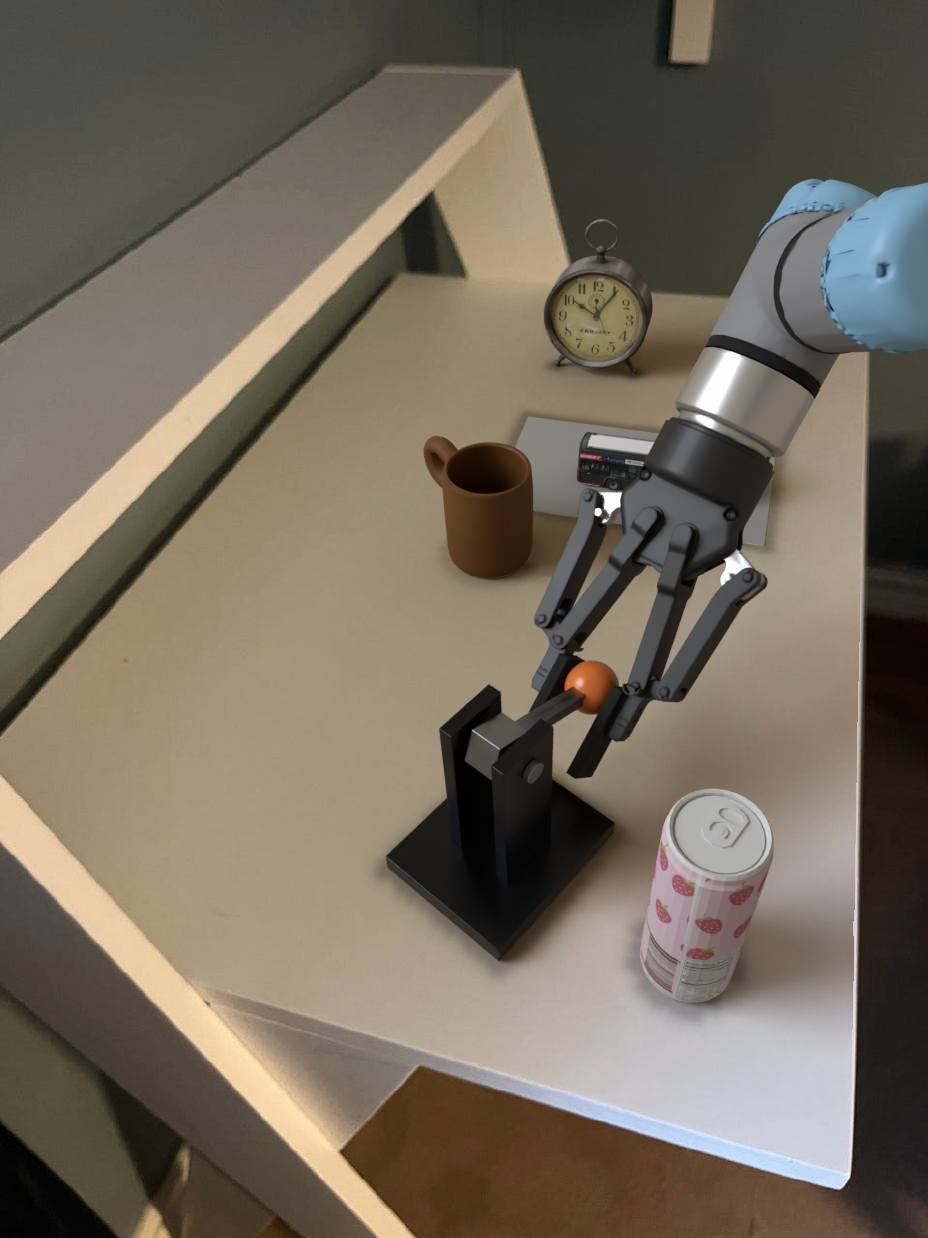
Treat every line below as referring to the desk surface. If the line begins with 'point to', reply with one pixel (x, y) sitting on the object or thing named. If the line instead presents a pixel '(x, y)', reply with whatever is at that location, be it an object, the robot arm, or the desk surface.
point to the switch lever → (541, 714)
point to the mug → (484, 504)
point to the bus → (598, 467)
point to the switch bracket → (499, 834)
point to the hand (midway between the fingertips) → (553, 756)
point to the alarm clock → (598, 310)
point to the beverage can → (704, 893)
